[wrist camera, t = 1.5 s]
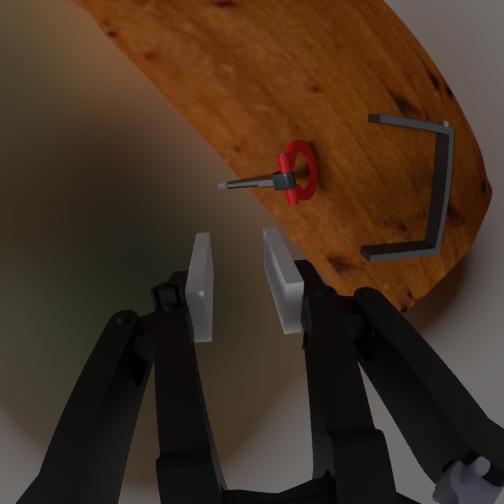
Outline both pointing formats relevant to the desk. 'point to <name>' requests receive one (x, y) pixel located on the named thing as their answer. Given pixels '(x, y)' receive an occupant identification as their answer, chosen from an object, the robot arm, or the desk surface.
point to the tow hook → (285, 175)
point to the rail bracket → (437, 198)
